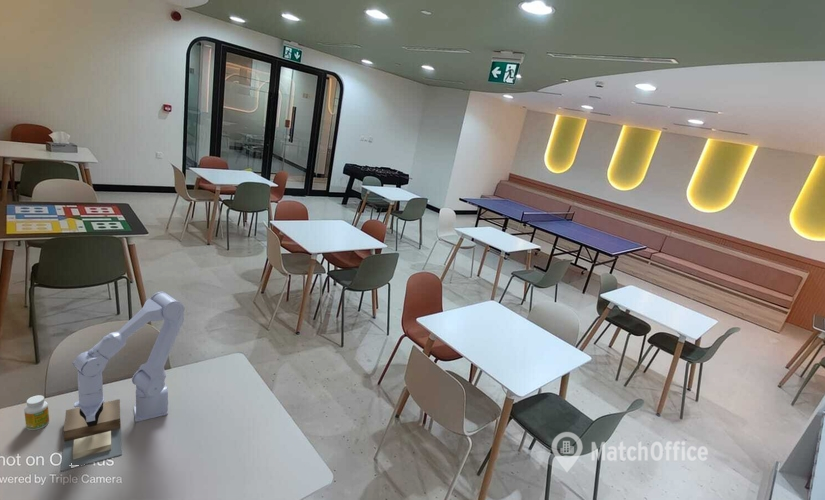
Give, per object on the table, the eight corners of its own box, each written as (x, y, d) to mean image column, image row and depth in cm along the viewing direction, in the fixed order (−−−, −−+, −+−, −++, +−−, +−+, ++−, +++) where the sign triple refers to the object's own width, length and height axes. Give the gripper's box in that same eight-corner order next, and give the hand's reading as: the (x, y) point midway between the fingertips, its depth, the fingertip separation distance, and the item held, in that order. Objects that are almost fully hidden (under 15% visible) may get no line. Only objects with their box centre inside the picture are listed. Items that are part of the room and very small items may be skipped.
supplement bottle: (35, 432, 122) (32, 407, 119) (21, 427, 123) (18, 402, 120) (54, 421, 127) (51, 396, 125) (40, 416, 128) (37, 391, 125)
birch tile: (111, 444, 121) (111, 449, 122) (110, 430, 125) (111, 435, 126) (72, 454, 116) (73, 459, 116) (73, 439, 120) (74, 444, 121)
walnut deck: (119, 408, 137) (119, 399, 136) (120, 428, 130) (120, 418, 129) (66, 420, 129) (66, 410, 127) (64, 441, 121) (63, 431, 120)
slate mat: (120, 428, 130) (120, 428, 129) (121, 455, 121) (121, 454, 121) (64, 442, 121) (64, 441, 121) (60, 471, 112) (60, 470, 112)
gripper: (75, 377, 122) (77, 413, 126) (71, 407, 112) (74, 445, 115) (103, 372, 127) (105, 407, 130) (103, 401, 116) (104, 437, 120)
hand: (92, 424), depth 123 cm, fingers closed
